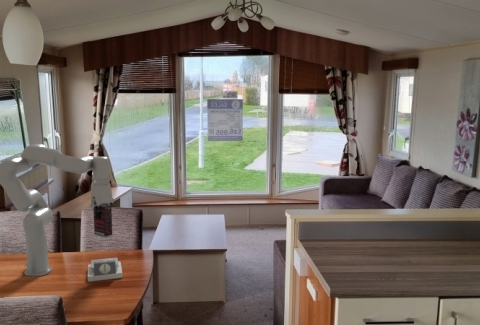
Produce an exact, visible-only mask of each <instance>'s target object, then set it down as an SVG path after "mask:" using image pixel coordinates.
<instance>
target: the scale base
mask: <svg viewBox="0 0 480 325" xmlns="http://www.w3.org/2000/svg"><path fill="white" fill-rule="evenodd" d="M122 278H123V268H122V263H121V260H120V261H119V260H118V267H116V263H115V260H113V261H104V262H94V270H91V263H90V264H88V265H87V282H95V281H103V280H106V281H107V280H113V279H122Z"/></svg>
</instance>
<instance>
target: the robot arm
mask: <svg viewBox="0 0 480 325" xmlns="http://www.w3.org/2000/svg"><path fill="white" fill-rule="evenodd" d="M37 164H38V165H42V166H43V165H44V166H49V167H54V168H56V169H57V170H61V171H63V172H69V173H73V174H80V175H81V174H85V173H87V172H90V171H92V177H93V180H92V181H93V184H91V190H90V204H89V207H90V208H92V210H93V209H94V210H93V212H94V211H95V215H96V219H101V211H100V207H101V205H104V204H108V205H111V206H112V205H113V203H114V202H115V200H114V198H113V192H112V185H111V183H110V181H111V177H110V159H109V157H108V156H91V155H84V156H81V157H75V156H70V155H66V154H64V153H63V152H61V150H60V149H55V148H51V147H47V146H46V145H44V144H43V143H35V144H30V145H27V146H26V147H25V148H24V149H23V151H22V153H20V154H17V155H15V156H12V157H7V158H5V159H3V160H2V161H1V162H0V185H1V186H2V188H3V189H4V191H5V193H6V195H7V196H8V198H9V200H10V201H11V202H12V205H13V206H14V207H15V208H16V210H17V211H19V212H27V211H29V212H28V213H27V214H26V215H25V216H24V219H23V221H22V226H23V231H24V234H25V235H24V237H25V246H26V260H27V262H26V263H24V266H26V269H25V270H24V276H27V277H32V278H33V277H41V276H45V275H47V274H51V272H52V271H53V268H52V266H50V265H49V253H48V252H49V251H48V239H47V238H48V237H47V232H46V230H45V227H46V226H47V225H48V224H50V223H51V222H52V220H53V212H52V210H51V208H50V206H49V205H48V203H47V201H46V200H45V198H44V197H43V195H42V193H40V191H38V190H36V189H34V188H29V189H27V187H26V186H25V184H24V183H23V181H22V180H21V179H20V178H19V177H18V176H17V175H18V174H21V173H23V172H26V171H28V170H29V169H32V168H33V167H35V166H36V165H37ZM94 205H95V206H94ZM97 206H98V208H97Z"/></svg>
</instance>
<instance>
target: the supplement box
mask: <svg viewBox="0 0 480 325" xmlns="http://www.w3.org/2000/svg"><path fill="white" fill-rule="evenodd" d="M94 206H95V205H94ZM97 208H98V206H97ZM92 210H93V226H94V228H93V229H94V236H97V237H100V238H104V239H106V238H107V239H108V238H110V237H113V219H112V218H113V217H112V216H113V215H112V214H113V213H112V205H108V204H104V205H101V207H100V211H101V219H96V215H95V211H94V209H93V208H92Z"/></svg>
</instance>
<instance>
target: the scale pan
mask: <svg viewBox="0 0 480 325" xmlns="http://www.w3.org/2000/svg"><path fill="white" fill-rule="evenodd" d="M113 260H115V263H116V267H118V262H119V260H118V257H108V258H100V259H90V264H91V270H94V262H104V261H113Z"/></svg>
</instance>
